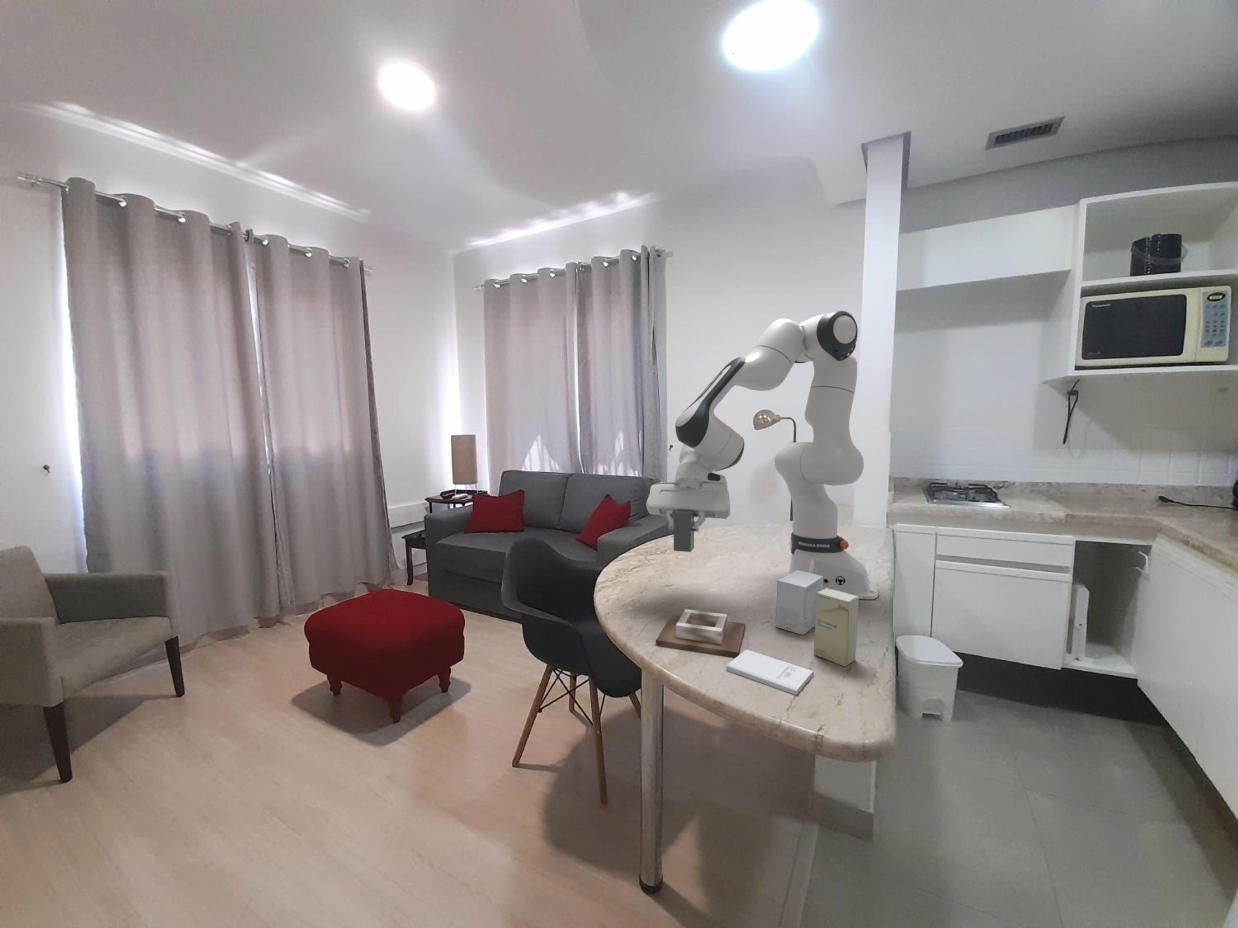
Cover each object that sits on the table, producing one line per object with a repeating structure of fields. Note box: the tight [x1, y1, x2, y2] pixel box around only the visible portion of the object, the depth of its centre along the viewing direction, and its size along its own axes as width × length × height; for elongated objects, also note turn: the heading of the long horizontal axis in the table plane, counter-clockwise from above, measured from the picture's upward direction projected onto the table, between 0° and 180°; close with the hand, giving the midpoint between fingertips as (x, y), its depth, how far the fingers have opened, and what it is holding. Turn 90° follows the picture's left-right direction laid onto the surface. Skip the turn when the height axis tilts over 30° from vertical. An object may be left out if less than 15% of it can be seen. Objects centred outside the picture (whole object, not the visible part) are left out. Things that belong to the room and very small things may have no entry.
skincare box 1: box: [774, 570, 823, 636], centre depth 103 cm, size 10×6×10 cm, turn 137°
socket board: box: [655, 608, 746, 658], centre depth 97 cm, size 16×14×4 cm
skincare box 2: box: [813, 588, 860, 667], centre depth 88 cm, size 6×4×12 cm
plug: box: [673, 510, 695, 553], centre depth 111 cm, size 4×4×9 cm
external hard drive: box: [726, 649, 815, 696], centre depth 83 cm, size 2×8×12 cm
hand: (683, 529), depth 110 cm, fingers closed on plug, 4 cm apart
